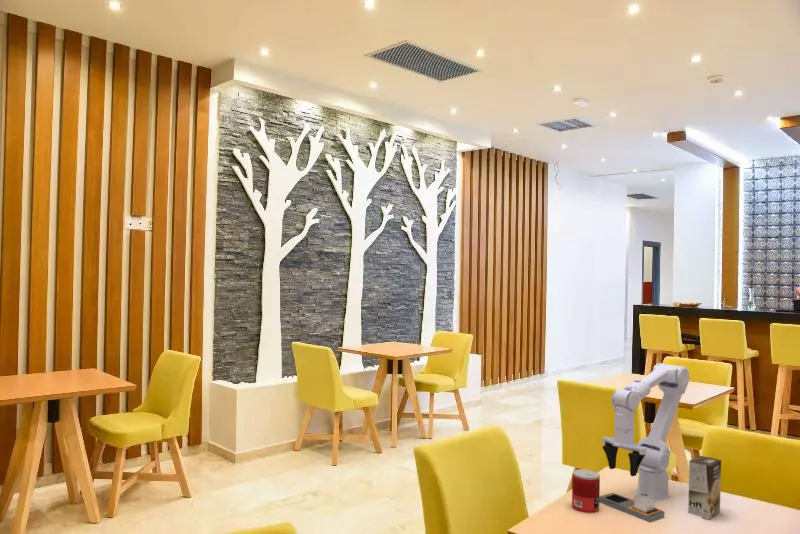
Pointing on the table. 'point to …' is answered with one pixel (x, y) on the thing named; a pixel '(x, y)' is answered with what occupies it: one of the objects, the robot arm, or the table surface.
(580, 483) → the canned food
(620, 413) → the robot arm
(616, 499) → the rail
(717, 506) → the coffee box
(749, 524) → the table surface
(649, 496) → the silver square slider
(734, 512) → the table surface
